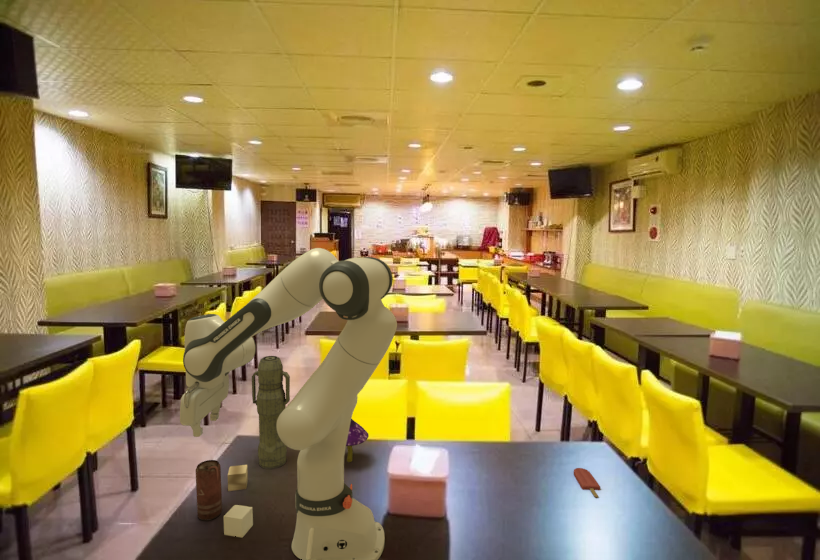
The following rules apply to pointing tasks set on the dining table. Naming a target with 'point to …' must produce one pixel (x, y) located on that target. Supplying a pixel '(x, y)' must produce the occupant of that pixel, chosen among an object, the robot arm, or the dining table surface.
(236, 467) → the maple block
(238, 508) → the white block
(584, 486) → the popsicle
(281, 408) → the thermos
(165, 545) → the dining table surface
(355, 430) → the decorative mushroom
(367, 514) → the robot arm
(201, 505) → the can
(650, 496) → the dining table surface
